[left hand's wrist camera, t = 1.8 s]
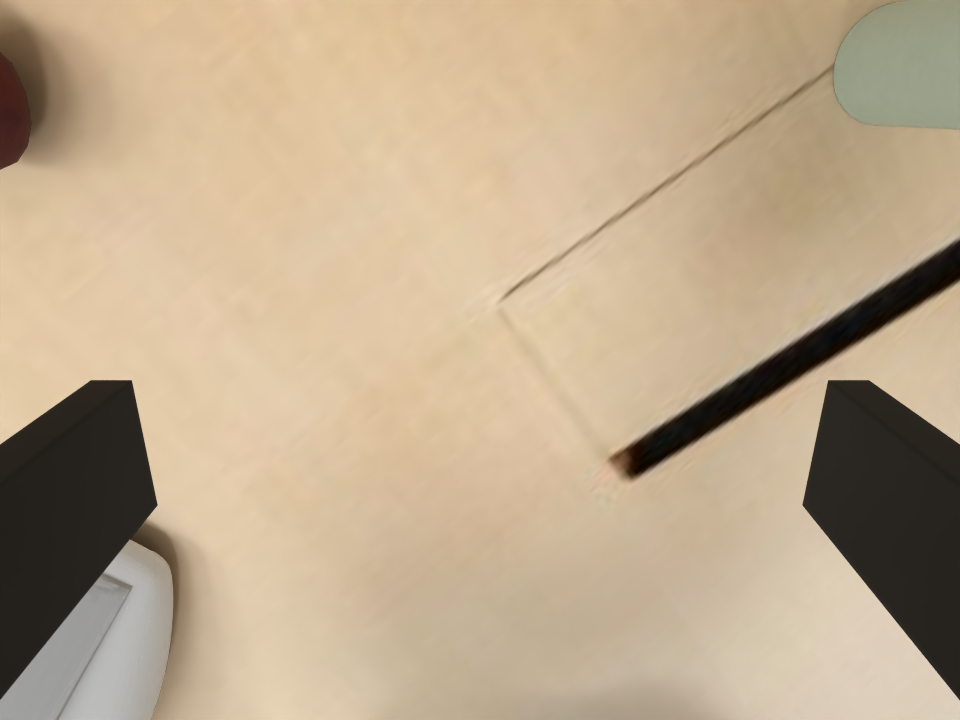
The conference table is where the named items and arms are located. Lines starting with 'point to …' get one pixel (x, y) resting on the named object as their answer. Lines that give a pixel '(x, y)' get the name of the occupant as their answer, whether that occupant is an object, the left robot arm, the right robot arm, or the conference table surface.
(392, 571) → the conference table surface
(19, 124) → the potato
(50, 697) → the projector
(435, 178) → the conference table surface
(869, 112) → the bottle
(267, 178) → the conference table surface
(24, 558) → the left robot arm
